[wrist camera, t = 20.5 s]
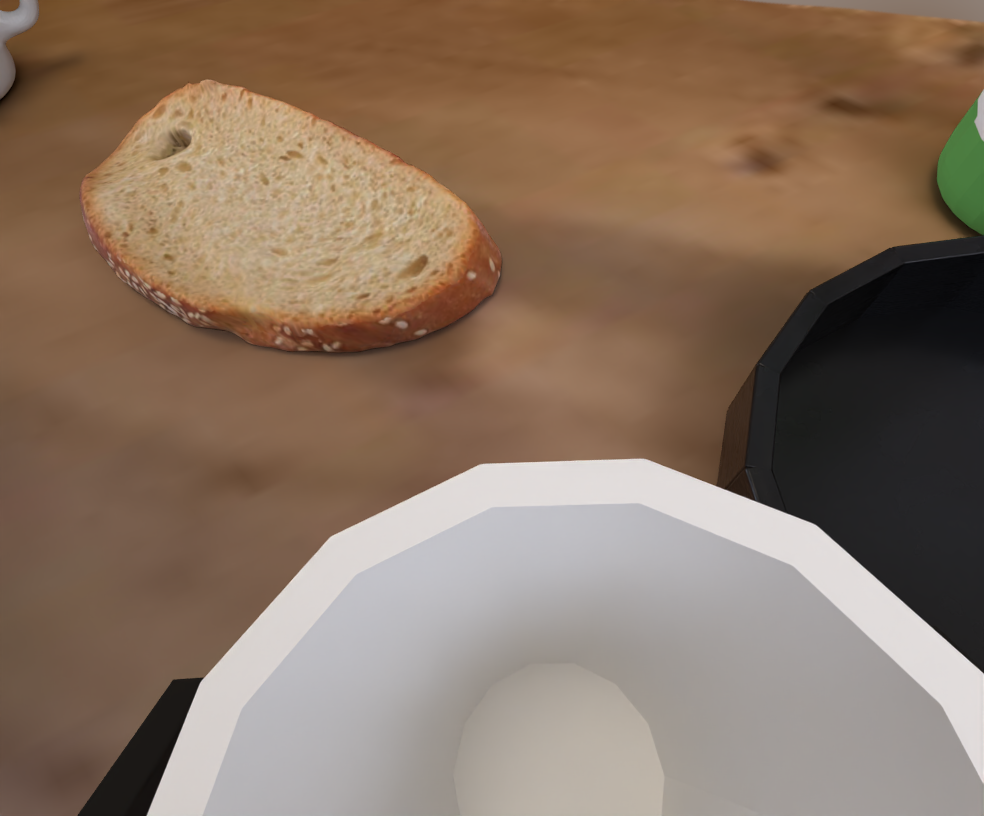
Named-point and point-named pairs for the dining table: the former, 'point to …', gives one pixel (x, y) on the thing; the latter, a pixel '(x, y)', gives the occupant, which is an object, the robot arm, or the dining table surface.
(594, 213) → the dining table surface
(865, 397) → the pan
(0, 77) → the cup
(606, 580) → the foam cup
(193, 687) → the robot arm
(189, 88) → the bread slice
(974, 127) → the wine bottle
